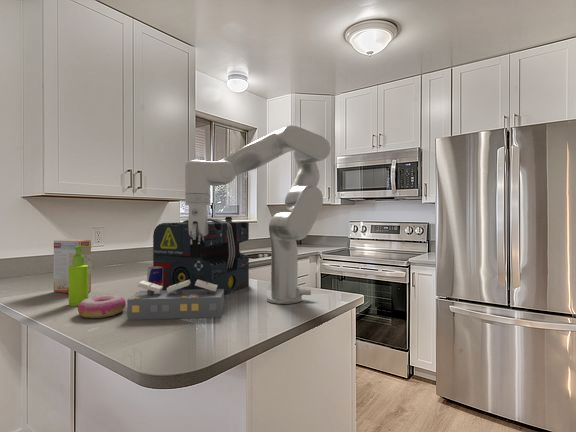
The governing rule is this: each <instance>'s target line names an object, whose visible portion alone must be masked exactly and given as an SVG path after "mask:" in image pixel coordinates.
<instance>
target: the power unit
mask: <svg viewBox="0 0 576 432" xmlns="http://www.w3.org/2000/svg"><path fill="white" fill-rule="evenodd" d="M249 227H250V224H249V222H248V221H233V217H232V216H225V218H224V220H222V219H218V218H210V217H209V218H208V235H206V236H204V242H205V254H204V255H201V258H191V257H190V245H191V243H190V242H191V236H190V235H189V226H188V219H187V220H183V221H181V222H162V223H159V224H158V225H157V226H155V228H154V230H153V235H152V240H153V241H152V247H153V248H152V249H153V250H152V267H155V266H160V267H163V290H167V288H168V287H169V286H172V285H175V284H178V283H179V282H183V281H186V280H189V279H190V282H191V283H190V284H189V285H188V286H185V287H183V288H182V290H197V289H205V288H202V287H199V286H195V283H196V281H197V280H202V281H205V282H209V283H212V284H215V285H218V286H217V289H224V296H225V295H228V294H230V293H234V292H236V291H239V290H241V289H244V288H247V287H249V286H250V283H249V282H250V281H249V279H250V278H249V277H250V273H249V270H250V269H249V267H250V266H249V263H250V261H249V256H248V255H246V254H245V253H243V252H240V243H243V242H246V241H249V240H250V239H249V238H250V237H249V236H250V234H249V232H250V231H249V230H250V229H249ZM246 286H247V287H246ZM238 289H239V290H238Z"/></svg>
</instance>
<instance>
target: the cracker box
mask: <svg viewBox="0 0 576 432" xmlns="http://www.w3.org/2000/svg"><path fill="white" fill-rule="evenodd" d="M75 246H90V247H91V248H81V255H84V265H88V293H90V292H92V240H90V239H55V240H53V292H54V293H64V294H69V266H72V265H73V256H74V255H76V249H74V248H73V247H75Z"/></svg>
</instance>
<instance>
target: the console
mask: <svg viewBox="0 0 576 432" xmlns="http://www.w3.org/2000/svg"><path fill="white" fill-rule="evenodd" d="M126 302H127V304H126V306H127V312H126V313H127V317H126V319H127V321H134V320H135V321H136V320H139V321H140V320H165V319H166V320H167V319H168V320H169V319H171V320H172V319H200V318H203V319H204V318H221V317H222V314H223V312H224V308H225V295H224V289H216V291H212V290H209V289H197V290H182V288H180V289H177V290H174V291H171V292H167V290H162V291H160V292H159V293H158V292H155V291H151V290H148V291H147V290H139V291H138V292H136V293H135V294H133V295H131V296H130V297H129V298H127V301H126Z"/></svg>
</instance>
